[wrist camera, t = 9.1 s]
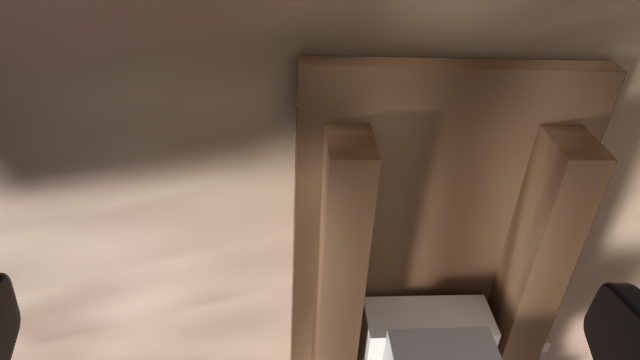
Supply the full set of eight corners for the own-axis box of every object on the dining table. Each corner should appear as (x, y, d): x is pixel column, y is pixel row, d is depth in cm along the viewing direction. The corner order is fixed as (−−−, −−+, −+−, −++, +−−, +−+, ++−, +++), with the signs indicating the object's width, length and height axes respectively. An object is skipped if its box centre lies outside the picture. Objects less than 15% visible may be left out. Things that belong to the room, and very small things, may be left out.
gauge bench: (288, 437, 31) (290, 524, 27) (297, 55, 19) (303, 118, 15) (482, 429, 32) (510, 512, 28) (612, 60, 20) (690, 121, 16)
